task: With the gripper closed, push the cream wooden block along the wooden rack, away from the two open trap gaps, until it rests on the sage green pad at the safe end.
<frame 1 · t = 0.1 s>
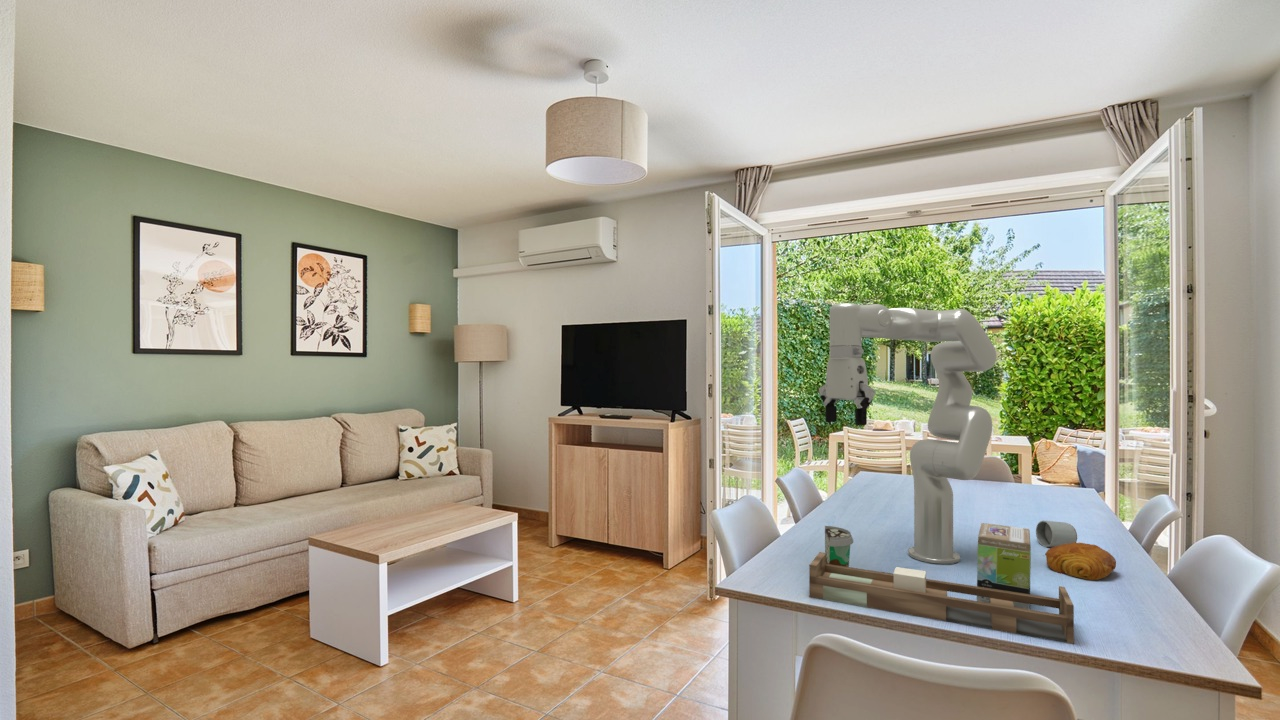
hand: (845, 423, 149), 37 cm above the table, fingers open, 9 cm apart
tea box: (1003, 599, 134), on the table
ceramic mug: (1052, 546, 175), on the table
wooden rack: (930, 608, 127), on the table
food container: (840, 573, 150), on the table
swirled bread bun: (1079, 572, 153), on the table
block: (909, 591, 129), point 3 cm above the table, touching wooden rack
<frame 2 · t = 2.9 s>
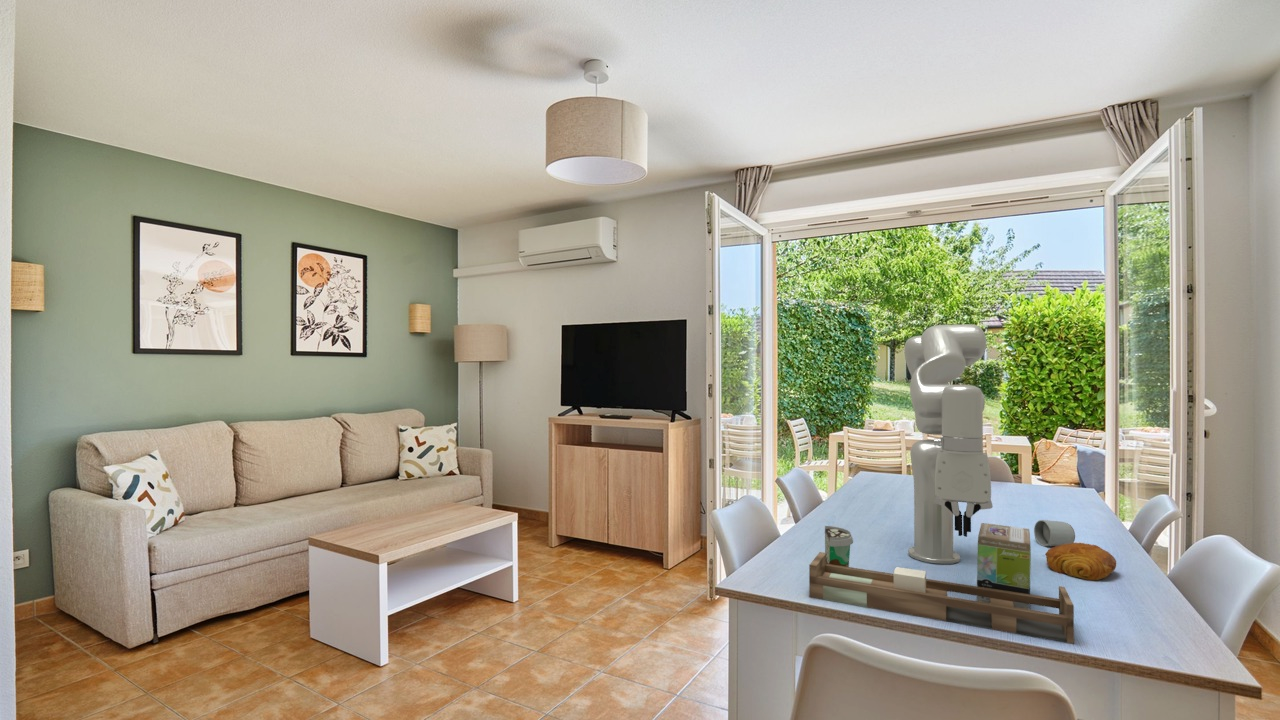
hand: (962, 534, 124), 16 cm above the table, fingers closed
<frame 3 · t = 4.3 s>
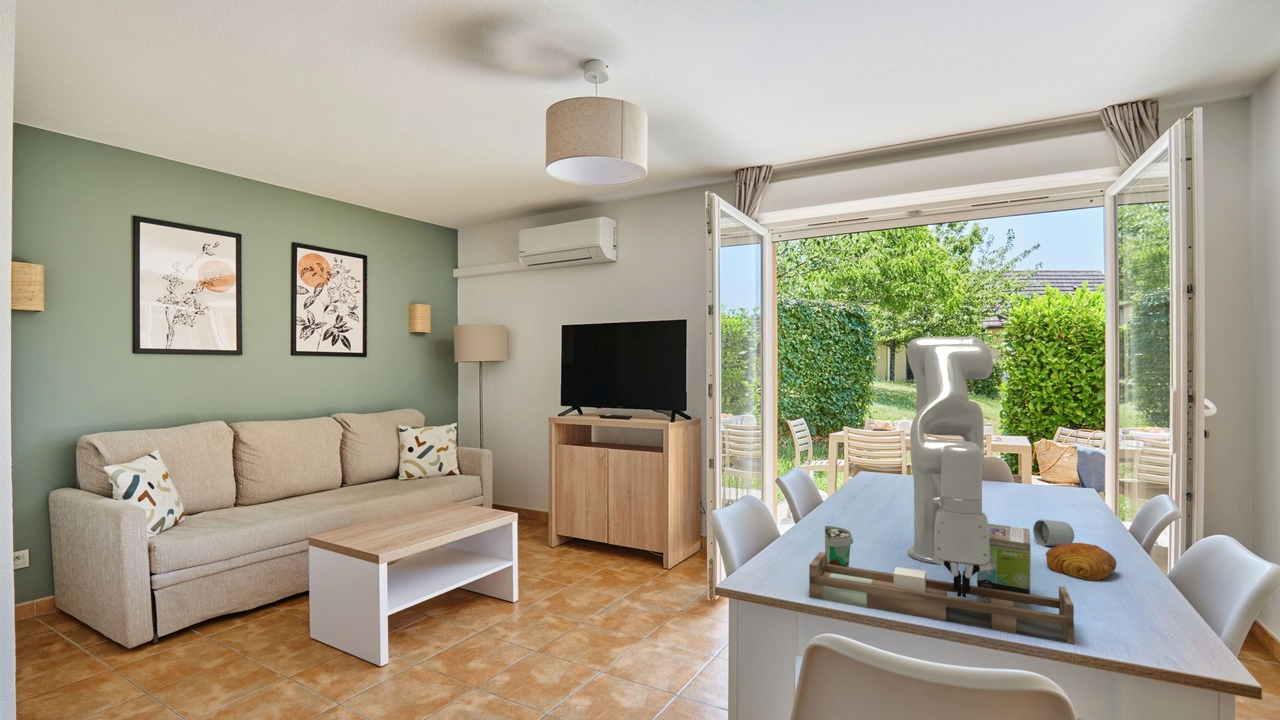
hand: (961, 594, 125), 4 cm above the table, fingers closed
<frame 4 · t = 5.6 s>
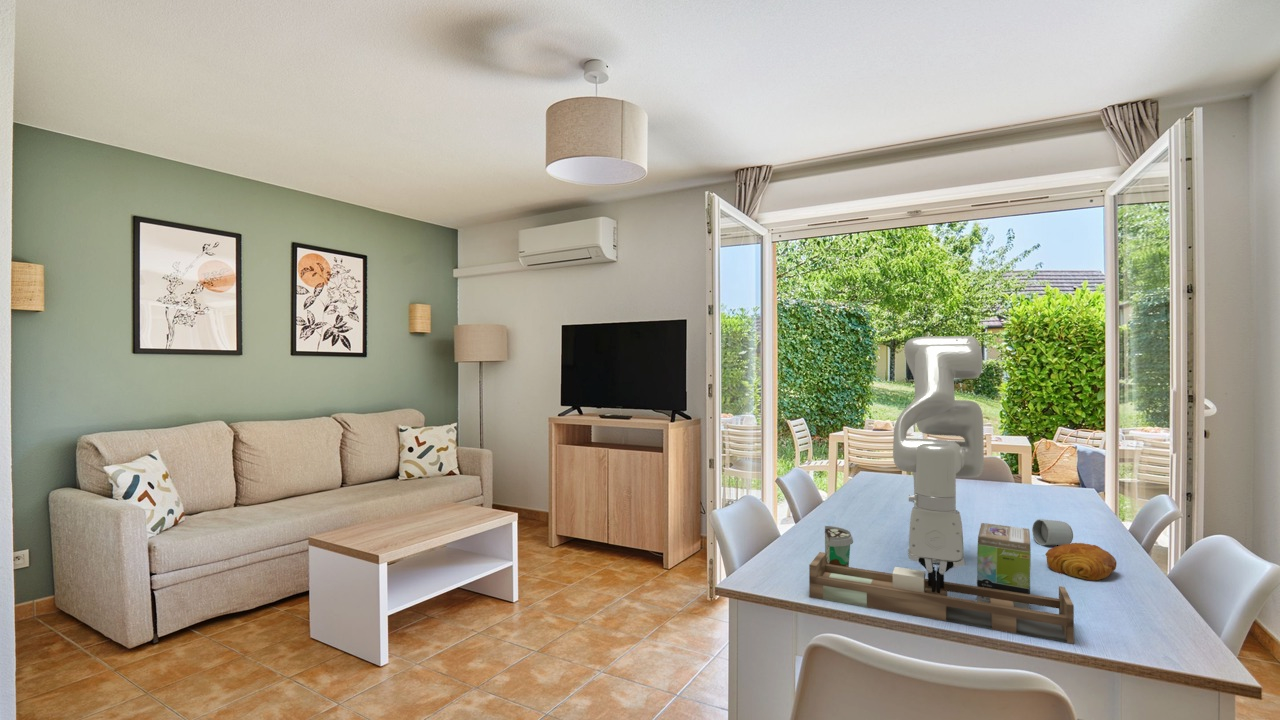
hand: (936, 590, 127), 4 cm above the table, fingers closed
block: (908, 591, 129), point 3 cm above the table, touching gripper, wooden rack
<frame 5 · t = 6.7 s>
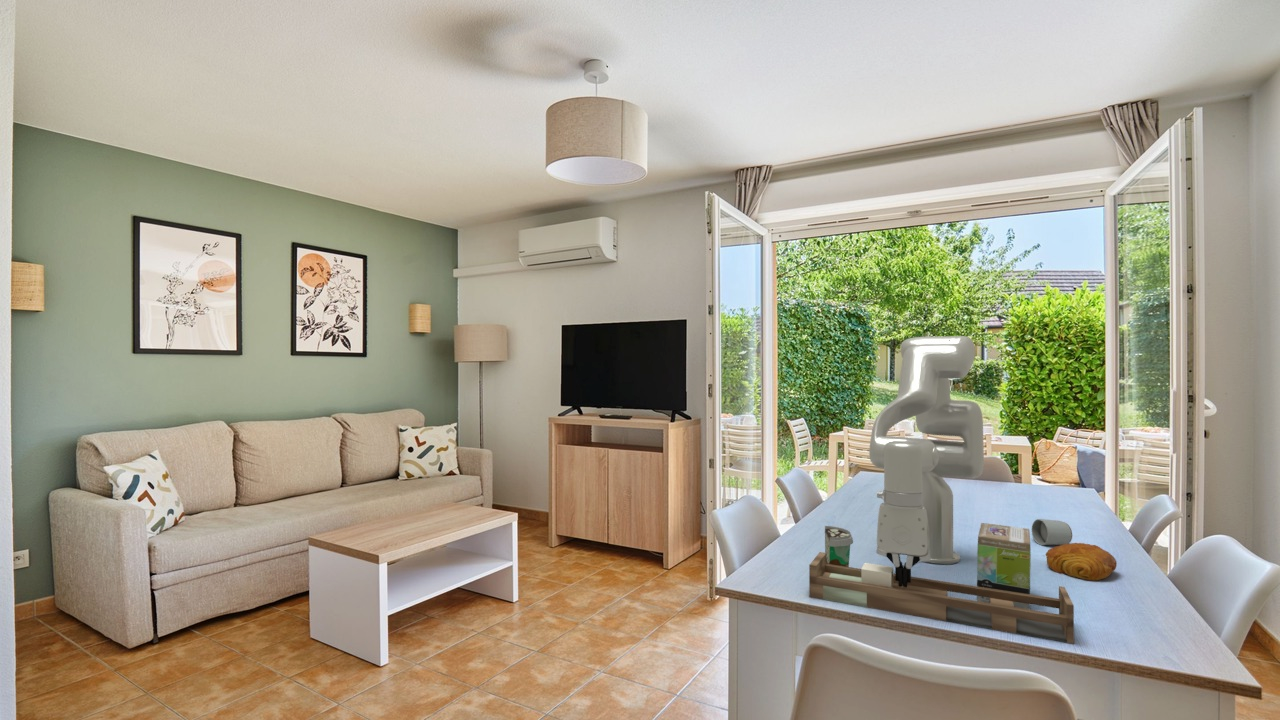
hand: (903, 584, 130), 4 cm above the table, fingers closed
block: (877, 586, 132), point 3 cm above the table, touching gripper
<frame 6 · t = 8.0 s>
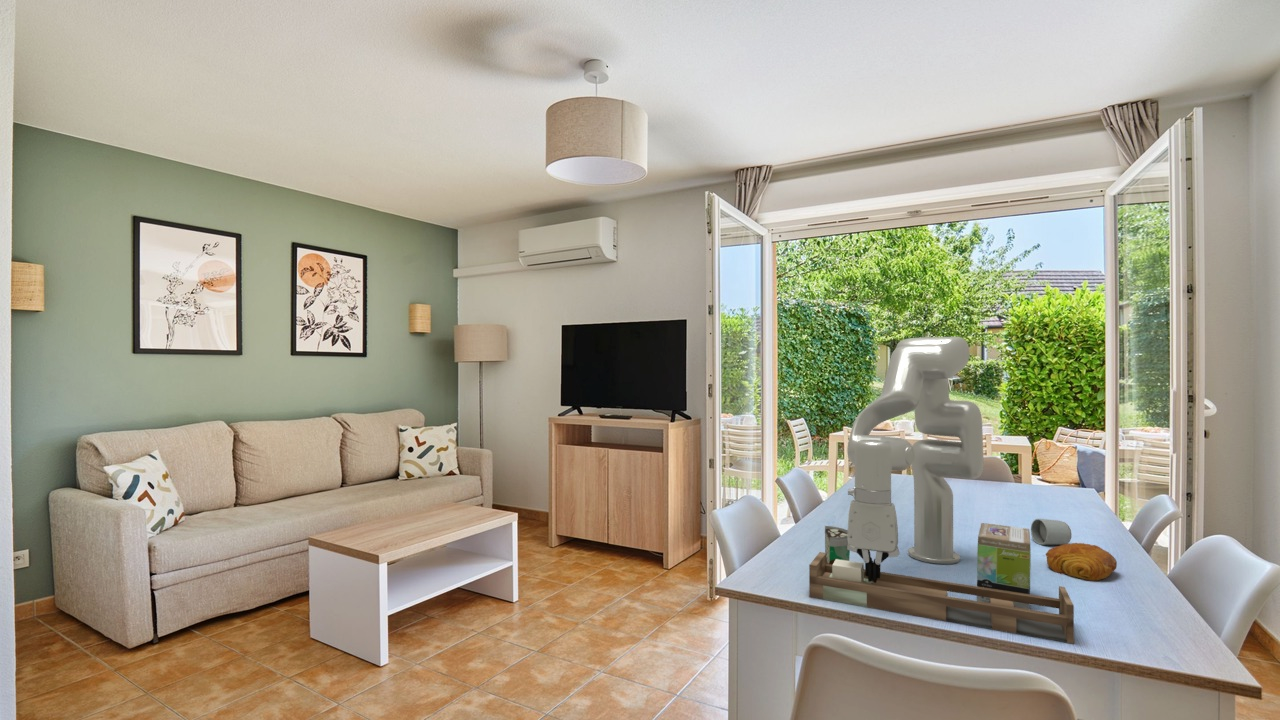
hand: (872, 580, 133), 4 cm above the table, fingers closed
block: (848, 582, 135), point 3 cm above the table, touching gripper
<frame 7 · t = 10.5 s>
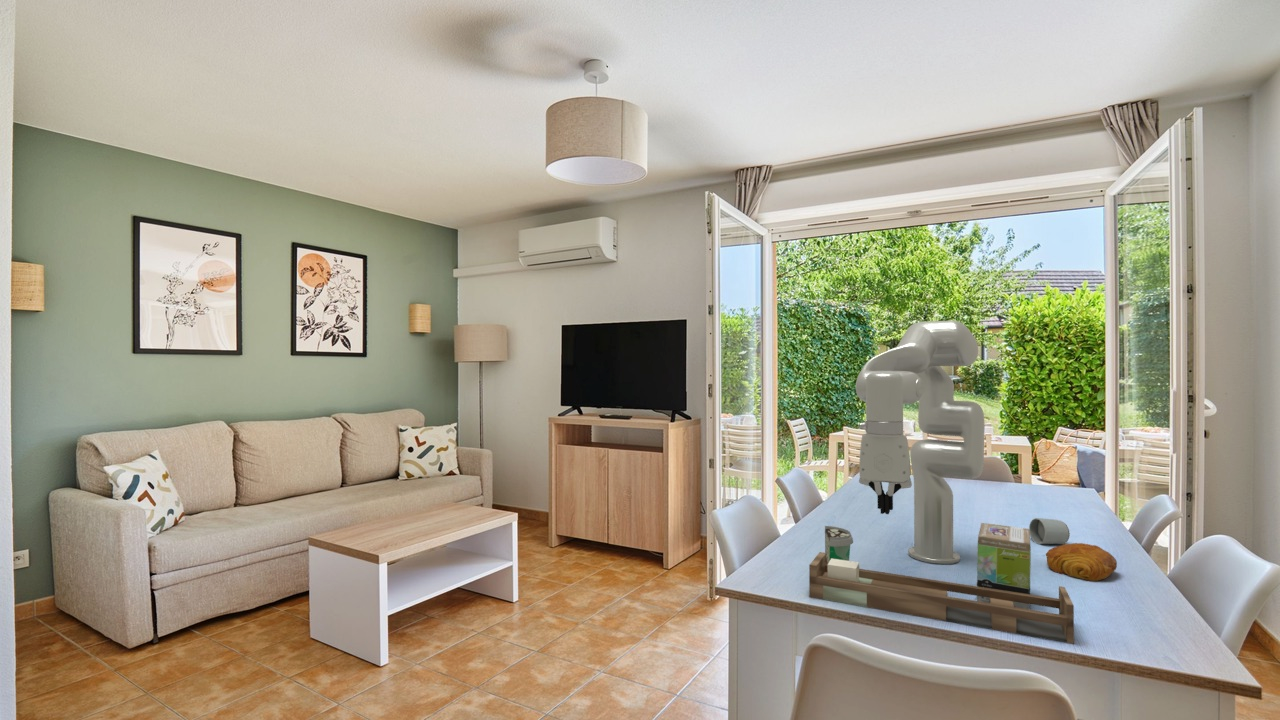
hand: (885, 512, 132), 19 cm above the table, fingers closed
block: (843, 581, 135), point 3 cm above the table, touching wooden rack
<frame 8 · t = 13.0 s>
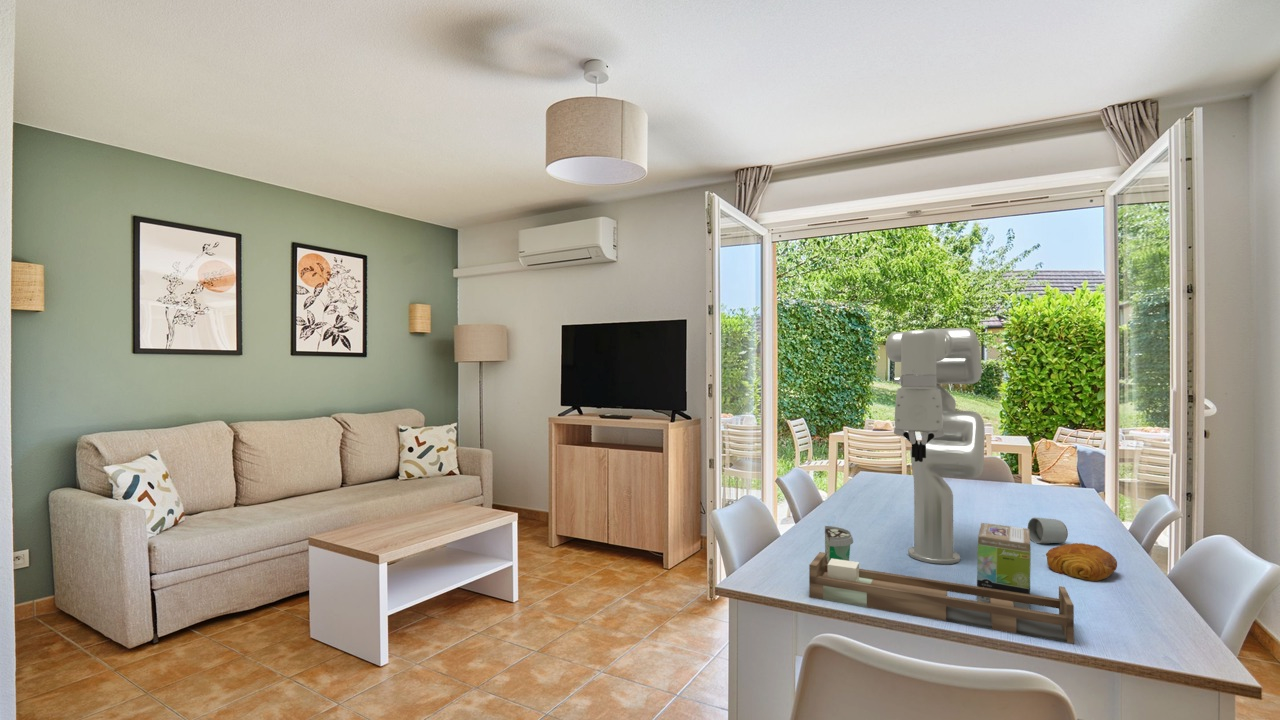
hand: (918, 460, 142), 29 cm above the table, fingers closed
at the end: block inside the target area on the wooden rack (1.7 cm from its centre), point 3.0 cm above the wooden rack's base; block tilted 0°; block moved 13.6 cm from its start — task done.
